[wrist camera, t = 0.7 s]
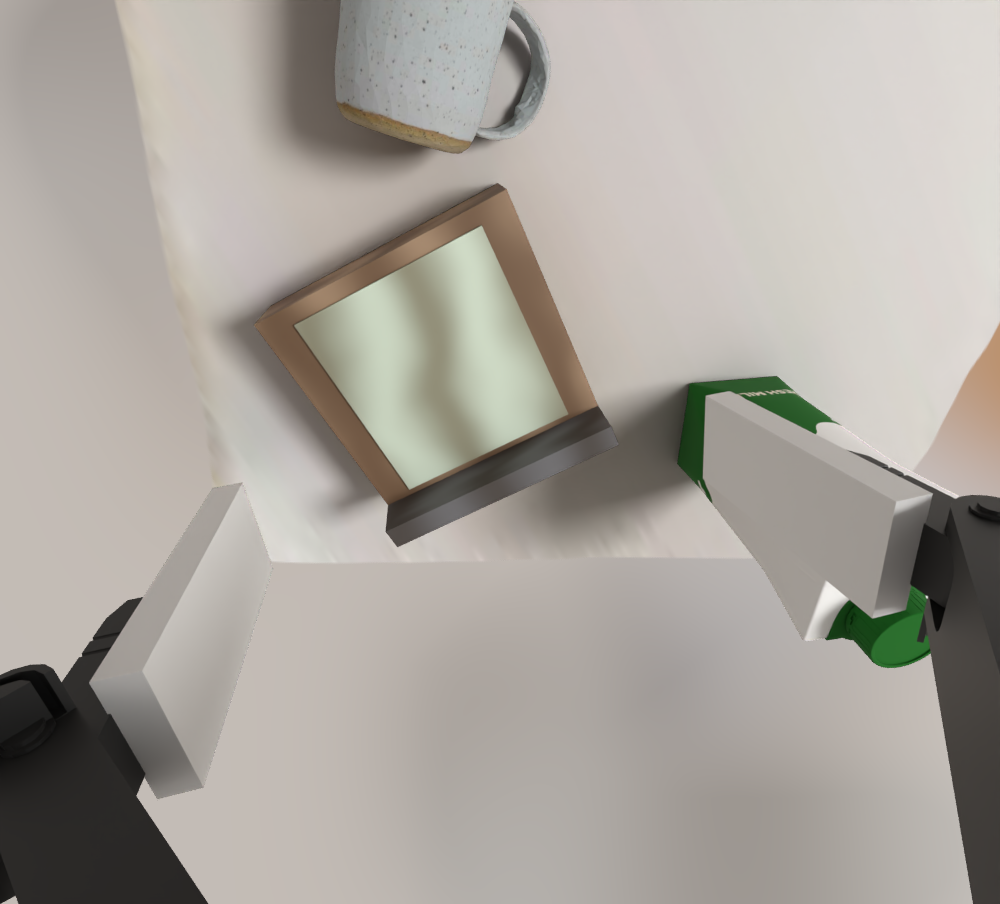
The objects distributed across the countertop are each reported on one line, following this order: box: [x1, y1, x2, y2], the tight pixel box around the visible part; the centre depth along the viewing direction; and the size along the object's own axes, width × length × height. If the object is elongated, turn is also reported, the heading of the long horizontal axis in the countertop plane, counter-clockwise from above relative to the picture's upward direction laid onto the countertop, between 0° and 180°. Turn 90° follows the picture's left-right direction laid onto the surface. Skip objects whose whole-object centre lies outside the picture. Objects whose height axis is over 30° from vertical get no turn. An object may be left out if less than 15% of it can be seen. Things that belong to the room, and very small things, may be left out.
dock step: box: [254, 183, 619, 547], centre depth 35 cm, size 16×16×7 cm
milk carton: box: [677, 376, 960, 668], centre depth 35 cm, size 9×9×20 cm
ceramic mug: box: [335, 0, 550, 154], centre depth 26 cm, size 11×8×8 cm
